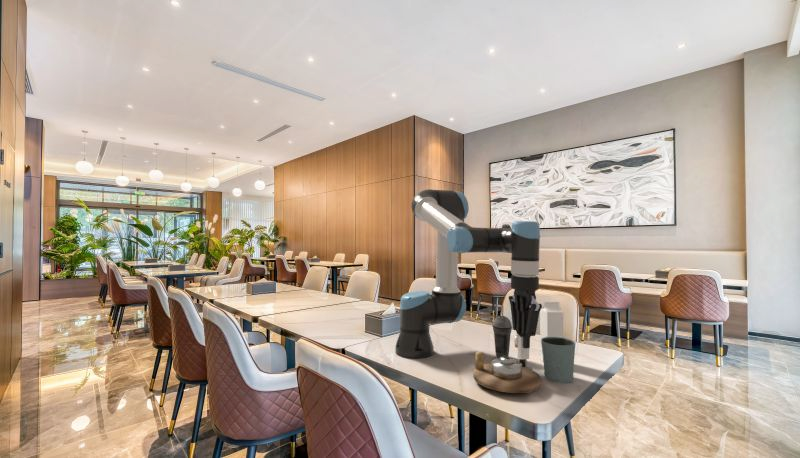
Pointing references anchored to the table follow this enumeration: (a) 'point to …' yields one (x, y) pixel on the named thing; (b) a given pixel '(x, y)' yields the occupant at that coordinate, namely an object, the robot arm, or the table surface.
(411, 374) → the table surface
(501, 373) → the cover
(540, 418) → the table surface
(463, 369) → the table surface
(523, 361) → the dial gauge
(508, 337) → the beverage cup
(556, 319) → the milk
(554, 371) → the grey-green tumbler
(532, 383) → the turntable
